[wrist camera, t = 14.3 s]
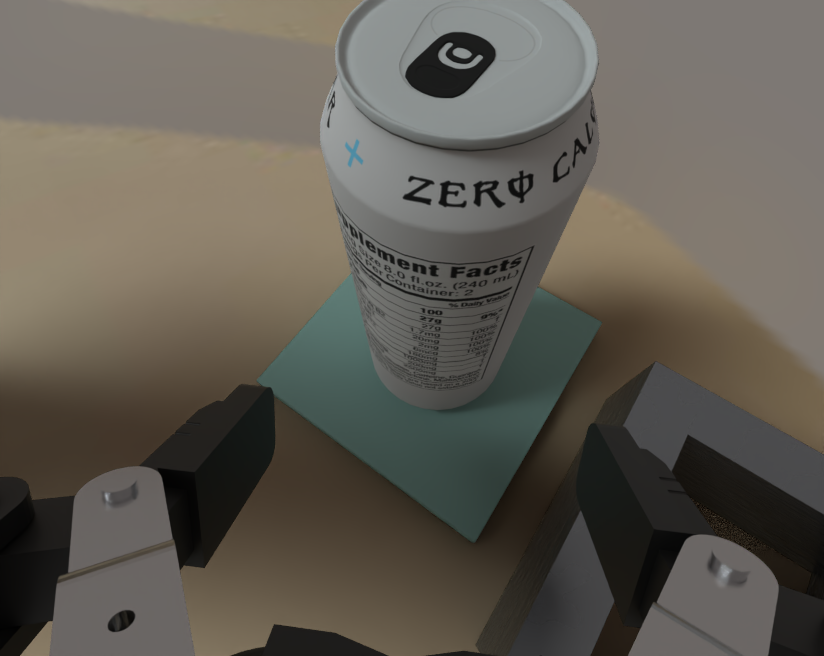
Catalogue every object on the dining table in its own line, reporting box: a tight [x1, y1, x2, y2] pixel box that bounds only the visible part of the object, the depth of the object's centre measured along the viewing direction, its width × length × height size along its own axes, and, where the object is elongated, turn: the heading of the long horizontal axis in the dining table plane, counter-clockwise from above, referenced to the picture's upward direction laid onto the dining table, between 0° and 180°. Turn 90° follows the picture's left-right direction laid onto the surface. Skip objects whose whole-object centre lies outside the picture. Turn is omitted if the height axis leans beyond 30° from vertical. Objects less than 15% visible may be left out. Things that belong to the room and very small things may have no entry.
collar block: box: [476, 361, 824, 656], centre depth 16 cm, size 12×12×5 cm
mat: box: [256, 273, 602, 543], centre depth 22 cm, size 12×12×1 cm
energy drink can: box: [320, 0, 599, 410], centre depth 15 cm, size 6×6×15 cm
